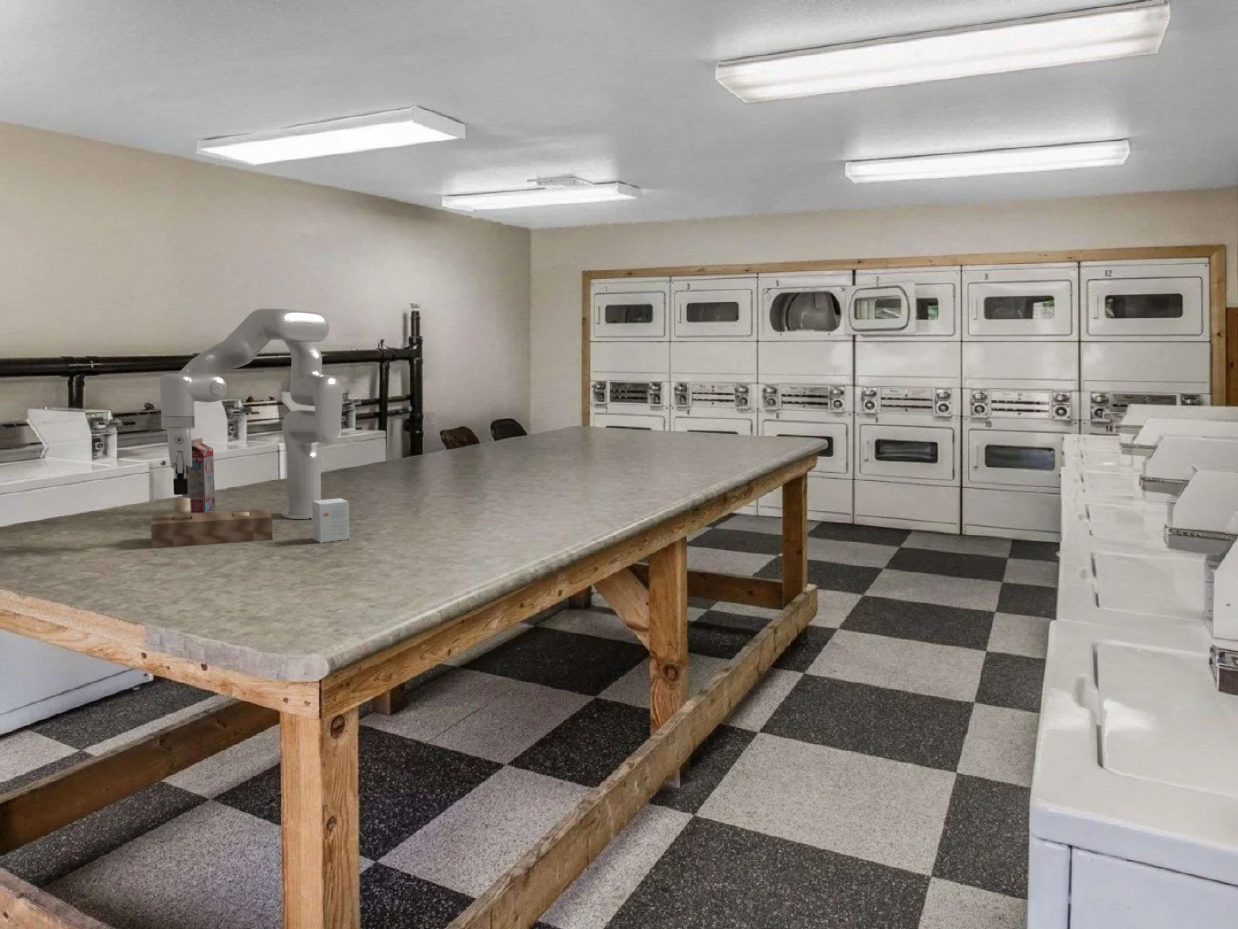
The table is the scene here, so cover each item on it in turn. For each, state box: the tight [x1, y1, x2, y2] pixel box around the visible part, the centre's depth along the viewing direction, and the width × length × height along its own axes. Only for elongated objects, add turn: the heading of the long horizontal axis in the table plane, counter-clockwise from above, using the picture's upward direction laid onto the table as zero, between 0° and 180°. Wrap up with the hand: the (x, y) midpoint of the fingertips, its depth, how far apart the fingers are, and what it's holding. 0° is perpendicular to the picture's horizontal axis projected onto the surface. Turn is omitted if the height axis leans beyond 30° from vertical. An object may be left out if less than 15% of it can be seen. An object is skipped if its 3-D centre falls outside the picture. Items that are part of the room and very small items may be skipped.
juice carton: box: [181, 437, 216, 513], centre depth 260 cm, size 7×7×22 cm
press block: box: [150, 508, 274, 549], centre depth 227 cm, size 28×12×6 cm, turn 117°
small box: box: [311, 497, 350, 544], centre depth 230 cm, size 8×6×10 cm
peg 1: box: [172, 497, 191, 520], centre depth 223 cm, size 4×4×6 cm
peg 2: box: [233, 512, 250, 517], centre depth 230 cm, size 4×4×6 cm
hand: (180, 494), depth 222 cm, fingers closed
